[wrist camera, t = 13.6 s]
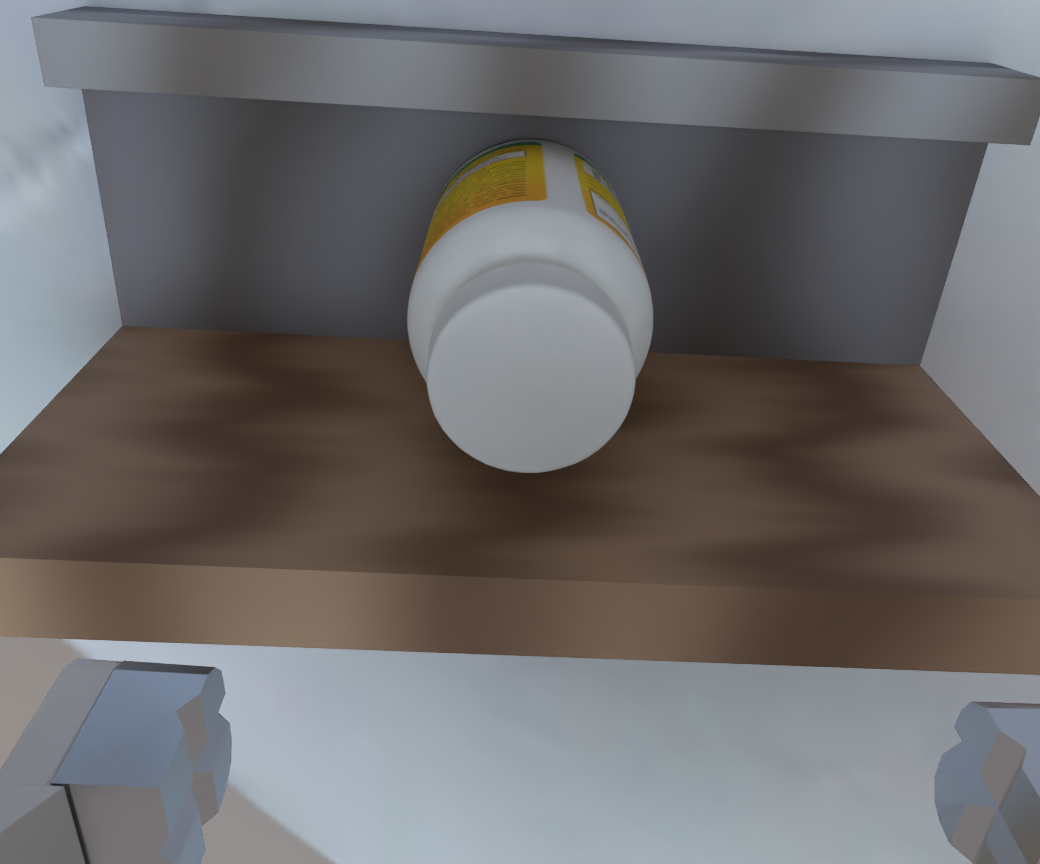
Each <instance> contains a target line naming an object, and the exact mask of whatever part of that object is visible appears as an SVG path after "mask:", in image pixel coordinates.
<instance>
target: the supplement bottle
mask: <svg viewBox="0 0 1040 864" xmlns="http://www.w3.org/2000/svg"><path fill="white" fill-rule="evenodd" d="M407 326H408V335H409V342H410V347H411V350H412V353H413V357H414V359H415V362H416V364H417V367H418V369H419V371H420V373H421V375H422V376H423V378H424V380H425V381H426V384H427V390H428V396H429V400H430V404H431V407H432V410H433V412H434V415H435V417H436V419H437V421H438V423H439V424H440V426H441V428H442V429H443V431H444V432H445V433H446V434H447V436H448V437H449V438H450V439H451V440H452V441H453V442H454V443H455V444H456V445H457V446H458V447H459V448H460V449H461V450H463V451H464V452H465V453H467V454H468V455H470V456H472V457H473V458H475V459H477V460H479V461H481V462H483V463H485V464H487V465H490V466H493V467H496V468H498V469H503V470H507V471H514V472H521V473H539V472H547V471H552V470H557V469H560V468H563V467H567V466H570V465H573V464H576V463H578V462H580V461H582V460H584V459H586V458H587V457H589V456H591V455H592V454H593V453H595V452H596V451H598V450H599V449H600V448H601V447H603V446H604V445H605V444H606V443H607V442H608V441H609V440H610V439H611V437H612V436H613V435H614V434H615V433H616V431H617V430H618V429H619V427H620V426H621V424H622V423H623V421H624V419H625V418H626V416H627V413H628V411H629V409H630V406H631V403H632V399H633V396H634V390H635V382H636V378H637V376H638V374H639V372H640V370H641V368H642V366H643V364H644V362H645V359H646V357H647V354H648V350H649V347H650V343H651V338H652V332H653V304H652V299H651V293H650V288H649V285H648V281H647V278H646V274H645V271H644V268H643V265H642V263H641V260H640V257H639V254H638V251H637V248H636V246H635V243H634V241H633V238H632V235H631V232H630V229H629V226H628V223H627V220H626V218H625V215H624V212H623V210H622V207H621V204H620V202H619V200H618V198H617V195H616V193H615V191H614V189H613V188H612V186H611V184H610V183H609V181H608V180H607V178H606V177H605V175H604V174H603V173H602V172H601V171H600V170H599V169H598V168H597V167H596V166H595V165H594V164H593V163H592V162H591V161H590V160H588V159H587V158H586V157H584V156H583V155H581V154H580V153H578V152H576V151H574V150H573V149H570V148H568V147H566V146H563V145H560V144H557V143H554V142H550V141H544V140H533V139H523V140H514V141H510V142H506V143H503V144H500V145H497V146H494V147H492V148H490V149H487V150H485V151H483V152H481V153H480V154H478V155H476V156H475V157H473V158H472V159H470V160H469V161H467V162H466V163H465V164H464V165H463V166H462V167H460V168H459V169H458V170H457V172H456V173H455V174H454V175H453V176H452V177H451V178H450V180H449V181H448V183H447V184H446V186H445V187H444V189H443V191H442V193H441V194H440V197H439V199H438V201H437V204H436V206H435V209H434V213H433V216H432V220H431V223H430V227H429V230H428V233H427V237H426V240H425V244H424V248H423V251H422V254H421V258H420V262H419V264H418V267H417V270H416V273H415V277H414V280H413V284H412V288H411V292H410V297H409V303H408V313H407Z"/></svg>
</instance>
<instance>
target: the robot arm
mask: <svg viewBox="0 0 1040 864" xmlns="http://www.w3.org/2000/svg"><path fill="white" fill-rule="evenodd" d="M224 696H225V688H224V682H223V677H222V671H221V670H219V669H217V668H215V667H204V666H190V665H176V664H162V663H148V662H134V661H123V662H119V661H106V660H92V659H78V658H77V659H75V660H74V661H73V662H71V663H70V664H69V665H67V666H66V667H65V668H64V669H63V670H62V672H61V673H60V675H59V677H58V678H57V680H56V681H55V683H54V685H53V686H52V688H51V689H50V691H49V693H48V694H47V696H46V697H45V699H44V701H43V702H42V704H41V705H40V707H39V709H38V710H37V712H36V713H35V715H34V717H33V718H32V720H31V721H30V723H29V725H28V726H27V728H26V729H25V731H24V732H23V734H22V736H21V737H20V739H19V741H18V742H17V744H16V745H15V747H14V748H13V750H12V752H11V753H10V755H9V756H8V758H7V760H6V761H5V763H4V764H3V766H2V768H1V769H0V864H201V861H202V858H203V855H204V852H205V844H204V838H203V832H202V826H203V825H204V824H205V823H206V822H207V821H208V820H210V819H211V818H212V817H213V816H214V815H216V814H217V813H218V812H219V809H220V806H221V803H222V800H223V797H224V794H225V791H226V787H227V781H228V776H229V770H230V765H231V750H232V738H231V730H230V723H229V722H228V721H227V720H226V719H225V718H224V717H223V716H222V715H221V714H220V713H219V709H220V706H221V704H222V701H223V698H224ZM954 727H955V729H956V731H957V732H958V734H959V736H960V738H961V740H962V741H961V742H960V743H959V744H957V745H956V746H954V747H953V748H952V749H950V750H949V751H947V752H946V753H944V754H943V755H942V758H941V760H940V763H939V766H938V769H937V772H936V774H935V804H936V808H937V812H938V816H939V820H940V823H941V825H942V828H943V830H944V832H945V834H946V837H947V839H948V841H949V843H950V844H951V845H952V846H953V847H955V848H956V849H957V850H958V851H959V852H960V853H962V854H963V855H964V856H965V857H966V858H967V859H969V860H970V861H971V862H972V864H1040V704H1025V703H998V702H970V703H969V704H968V705H967V706H966V707H964V708H963V709H962V710H961V712H960V714H959V717H958V719H957V721H956V724H955V726H954Z"/></svg>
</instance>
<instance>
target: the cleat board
mask: <svg viewBox="0 0 1040 864" xmlns="http://www.w3.org/2000/svg"><path fill="white" fill-rule="evenodd" d="M31 19H32V24H33V29H34V35H35V40H36V45H37V50H38V56H39V61H40V66H41V71H42V77H43V82H44V87H61V88H78V89H82V92H83V98H84V104H85V110H86V115H87V121H88V127H89V133H90V139H91V145H92V150H93V156H94V162H95V168H96V174H97V179H98V185H99V191H100V197H101V203H102V209H103V214H104V220H105V226H106V232H107V238H108V243H109V249H110V255H111V261H112V267H113V272H114V278H115V284H116V290H117V296H118V302H119V307H120V313H121V319H122V325H123V326H122V327H121V328H120V329H119V330H118V331H117V332H116V333H115V334H114V336H113V337H112V338H111V339H110V340H109V341H108V342H107V343H106V344H105V345H104V346H103V347H102V348H101V349H100V350H99V351H98V352H97V353H96V354H95V356H94V357H93V358H92V359H91V360H90V361H89V362H88V363H87V364H86V365H85V366H84V367H83V368H82V369H81V370H80V371H79V372H78V373H77V374H76V375H75V377H74V378H73V379H72V380H71V381H70V382H69V383H68V384H67V385H66V386H65V387H64V388H63V389H62V390H61V391H60V392H59V393H58V394H57V395H56V396H55V398H54V399H53V400H52V401H51V402H50V403H49V404H48V405H47V406H46V407H45V408H44V409H43V410H42V411H41V412H40V413H39V414H38V415H37V416H36V418H35V419H34V420H33V421H32V422H31V423H30V424H29V425H28V426H27V427H26V428H25V429H24V430H23V431H22V432H21V433H20V434H19V435H18V436H17V437H16V439H15V440H14V441H13V442H12V443H11V444H10V445H9V446H8V447H7V448H6V449H5V450H4V451H3V452H2V453H1V454H0V636H5V637H33V638H59V639H86V640H113V641H140V642H167V643H194V644H221V645H248V646H275V647H302V648H329V649H356V650H383V651H410V652H437V653H464V654H491V655H518V656H545V657H572V658H599V659H626V660H653V661H680V662H707V663H734V664H761V665H788V666H815V667H842V668H869V669H896V670H923V671H950V672H977V673H1004V674H1031V675H1040V496H1039V495H1038V494H1037V493H1036V492H1035V491H1034V490H1033V489H1032V488H1031V487H1030V486H1029V484H1028V483H1027V482H1026V481H1025V480H1024V479H1023V478H1022V477H1021V476H1020V475H1019V474H1018V472H1017V471H1016V470H1015V469H1014V468H1013V467H1012V466H1011V465H1010V464H1009V463H1008V462H1007V460H1006V459H1005V458H1004V457H1003V456H1002V455H1001V454H1000V453H999V452H998V451H997V450H996V448H995V447H994V446H993V445H992V444H991V443H990V442H989V441H988V440H987V439H986V438H985V436H984V435H983V434H982V433H981V432H980V431H979V430H978V429H977V428H976V427H975V426H974V424H973V423H972V422H971V421H970V420H969V419H968V418H967V417H966V416H965V415H964V414H963V412H962V411H961V410H960V409H959V408H958V407H957V406H956V405H955V404H954V403H953V402H952V400H951V399H950V398H949V397H948V396H947V395H946V394H945V393H944V392H943V391H942V390H941V388H940V387H939V386H938V385H937V384H936V383H935V382H934V381H933V380H932V379H931V378H930V376H929V375H928V374H927V373H926V372H925V371H924V370H923V369H922V368H921V367H920V363H921V360H922V356H923V353H924V350H925V347H926V343H927V340H928V337H929V334H930V330H931V327H932V324H933V321H934V317H935V314H936V311H937V308H938V304H939V301H940V298H941V295H942V291H943V288H944V285H945V282H946V278H947V275H948V272H949V269H950V265H951V262H952V259H953V256H954V252H955V249H956V246H957V243H958V239H959V236H960V233H961V230H962V226H963V223H964V220H965V217H966V213H967V210H968V207H969V203H970V200H971V197H972V194H973V190H974V187H975V184H976V181H977V177H978V174H979V171H980V168H981V164H982V161H983V158H984V155H985V151H986V148H987V145H988V143H1001V144H1017V145H1030V144H1031V141H1032V138H1033V135H1034V132H1035V129H1036V126H1037V123H1038V120H1039V117H1040V78H1039V77H1036V76H1032V75H1029V74H1026V73H1022V72H1019V71H1016V70H1012V69H1009V68H1006V67H1002V66H999V65H996V64H991V63H975V62H959V61H943V60H927V59H911V58H896V57H880V56H864V55H848V54H832V53H816V52H800V51H784V50H769V49H753V48H737V47H721V46H705V45H689V44H673V43H657V42H642V41H626V40H610V39H594V38H578V37H562V36H546V35H530V34H514V33H499V32H483V31H467V30H451V29H435V28H419V27H403V26H387V25H372V24H356V23H340V22H324V21H308V20H292V19H276V18H260V17H245V16H229V15H213V14H197V13H181V12H165V11H149V10H133V9H117V8H102V7H86V6H85V7H80V8H75V9H70V10H65V11H60V12H55V13H51V14H46V15H41V16H36V17H31ZM523 139H533V140H544V141H550V142H554V143H557V144H560V145H563V146H566V147H568V148H570V149H573V150H574V151H576V152H578V153H580V154H581V155H583V156H584V157H586V158H587V159H588V160H590V161H591V162H592V163H593V164H594V165H595V166H596V167H597V168H598V169H599V170H600V171H601V172H602V173H603V174H604V175H605V177H606V178H607V180H608V181H609V183H610V184H611V186H612V188H613V189H614V191H615V193H616V195H617V198H618V200H619V202H620V204H621V207H622V210H623V212H624V215H625V218H626V220H627V223H628V226H629V229H630V232H631V235H632V238H633V241H634V243H635V246H636V248H637V251H638V254H639V257H640V260H641V263H642V265H643V268H644V271H645V274H646V278H647V281H648V285H649V288H650V293H651V299H652V304H653V332H652V338H651V343H650V347H649V350H648V354H647V357H646V359H645V362H644V364H643V366H642V368H641V370H640V372H639V374H638V376H637V378H636V382H635V390H634V396H633V399H632V403H631V406H630V409H629V411H628V413H627V416H626V418H625V419H624V421H623V423H622V424H621V426H620V427H619V429H618V430H617V431H616V433H615V434H614V435H613V436H612V437H611V439H610V440H609V441H608V442H607V443H606V444H605V445H604V446H603V447H601V448H600V449H599V450H598V451H596V452H595V453H593V454H592V455H591V456H589V457H587V458H586V459H584V460H582V461H580V462H578V463H576V464H573V465H570V466H567V467H563V468H560V469H557V470H552V471H547V472H539V473H521V472H514V471H507V470H503V469H498V468H496V467H493V466H490V465H487V464H485V463H483V462H481V461H479V460H477V459H475V458H473V457H472V456H470V455H468V454H467V453H465V452H464V451H463V450H461V449H460V448H459V447H458V446H457V445H456V444H455V443H454V442H453V441H452V440H451V439H450V438H449V437H448V436H447V434H446V433H445V432H444V431H443V429H442V428H441V426H440V424H439V423H438V421H437V419H436V417H435V415H434V412H433V410H432V407H431V404H430V400H429V396H428V390H427V384H426V381H425V380H424V378H423V376H422V375H421V373H420V371H419V369H418V367H417V364H416V362H415V359H414V357H413V353H412V350H411V347H410V342H409V335H408V326H407V313H408V303H409V297H410V292H411V288H412V284H413V280H414V277H415V273H416V270H417V267H418V264H419V262H420V258H421V254H422V251H423V248H424V244H425V240H426V237H427V233H428V230H429V227H430V223H431V220H432V216H433V213H434V209H435V206H436V204H437V201H438V199H439V197H440V194H441V193H442V191H443V189H444V187H445V186H446V184H447V183H448V181H449V180H450V178H451V177H452V176H453V175H454V174H455V173H456V172H457V170H458V169H459V168H460V167H462V166H463V165H464V164H465V163H466V162H467V161H469V160H470V159H472V158H473V157H475V156H476V155H478V154H480V153H481V152H483V151H485V150H487V149H490V148H492V147H494V146H497V145H500V144H503V143H506V142H510V141H514V140H523Z"/></svg>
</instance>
